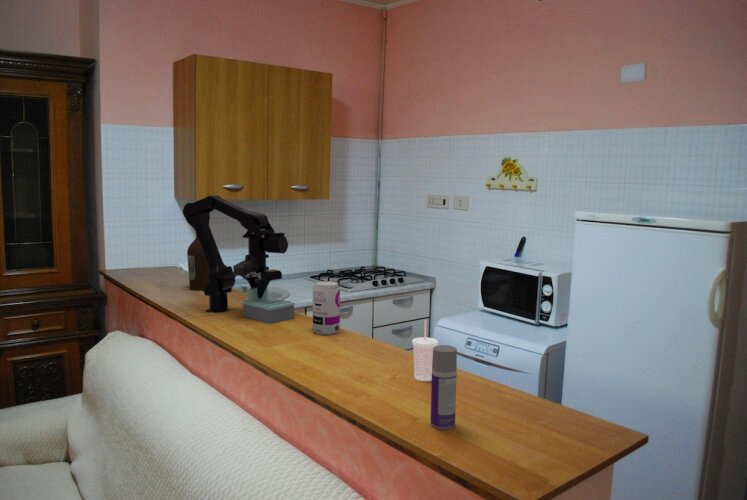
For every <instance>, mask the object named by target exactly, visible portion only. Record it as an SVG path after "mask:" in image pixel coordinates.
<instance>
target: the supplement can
mask: <svg viewBox="0 0 747 500" xmlns="http://www.w3.org/2000/svg"><path fill="white" fill-rule="evenodd" d="M340 330H341V288H340V285H339V282H338V281H337V282H336V281H330V280H329V281H326V280H324V281H323V280H320V281H316V282H314V285H313V286H312V331H313V332H314V333H315V334H317V335H325V336H328V335H329V336H330V335H335V334H337V333H338V332H339V331H340Z"/></svg>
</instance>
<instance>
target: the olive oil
mask: <svg viewBox="0 0 747 500" xmlns="http://www.w3.org/2000/svg"><path fill="white" fill-rule="evenodd" d="M186 253H187V254H186V256H187V268H188V283H189V284H188V285H189V290H191V291H197V292H198V291H200V292H202V291H203V290H204V288H205V287H206V286H207V285H208V284H209V283H210V282H209V278H208V275H209V266H208V263H207V260H206V258H205V255H204V252H203V250H202V247H201V244H200V242H199V239H198V236H197V234H196V233H195V239H194V240H193V241H192V242H191V243H190V244H189V246H188V247H187V251H186ZM203 292H204V291H203Z"/></svg>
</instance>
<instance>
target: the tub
mask: <svg viewBox="0 0 747 500" xmlns="http://www.w3.org/2000/svg"><path fill="white" fill-rule="evenodd" d="M242 317H243V318H247V319H250V320H255V321H259V322H262V323H265V324H269V325H270V324H271V325H272V324H276V323H279V322H280V323H281V322H285V321H288V320H293V319H295V305H293V306H288V307H284V308H279V309H274V310H267V309H263V308H259V307H255V306H250V305H246V304H242Z"/></svg>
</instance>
